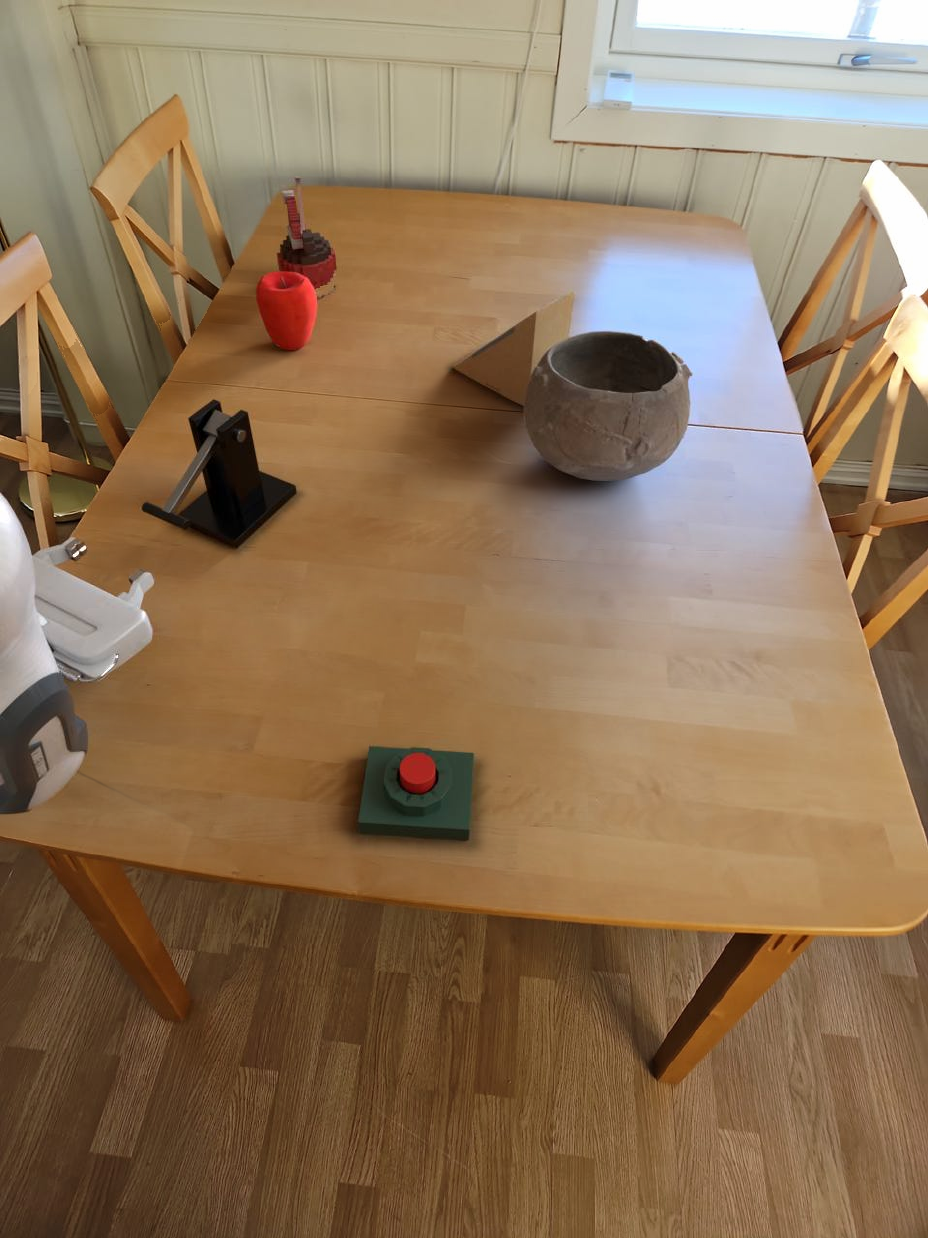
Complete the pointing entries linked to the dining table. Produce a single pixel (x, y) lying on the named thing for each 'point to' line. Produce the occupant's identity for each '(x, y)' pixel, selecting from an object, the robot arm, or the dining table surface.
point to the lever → (189, 476)
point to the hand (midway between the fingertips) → (113, 559)
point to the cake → (305, 246)
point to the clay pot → (607, 405)
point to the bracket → (233, 482)
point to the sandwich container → (519, 350)
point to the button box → (417, 796)
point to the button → (417, 773)
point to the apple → (287, 308)
